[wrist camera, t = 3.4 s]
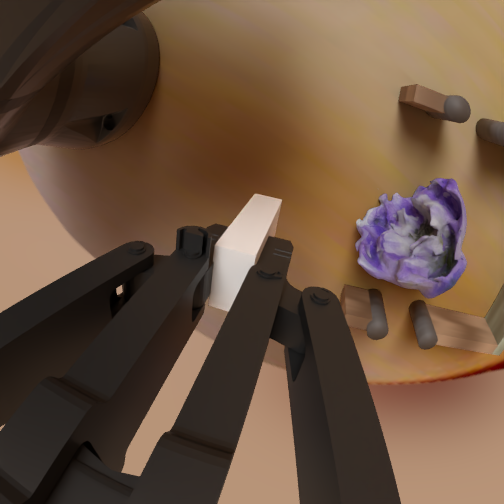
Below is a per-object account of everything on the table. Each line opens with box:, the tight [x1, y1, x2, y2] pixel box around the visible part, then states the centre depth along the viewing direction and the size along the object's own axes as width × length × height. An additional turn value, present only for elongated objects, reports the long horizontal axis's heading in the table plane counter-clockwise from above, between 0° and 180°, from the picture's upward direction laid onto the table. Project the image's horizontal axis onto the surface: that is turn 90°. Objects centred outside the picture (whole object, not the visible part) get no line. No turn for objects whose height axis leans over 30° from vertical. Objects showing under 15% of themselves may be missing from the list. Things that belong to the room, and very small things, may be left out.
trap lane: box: [341, 84, 504, 355], centre depth 21 cm, size 18×20×5 cm
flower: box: [355, 178, 467, 298], centre depth 21 cm, size 9×9×10 cm
